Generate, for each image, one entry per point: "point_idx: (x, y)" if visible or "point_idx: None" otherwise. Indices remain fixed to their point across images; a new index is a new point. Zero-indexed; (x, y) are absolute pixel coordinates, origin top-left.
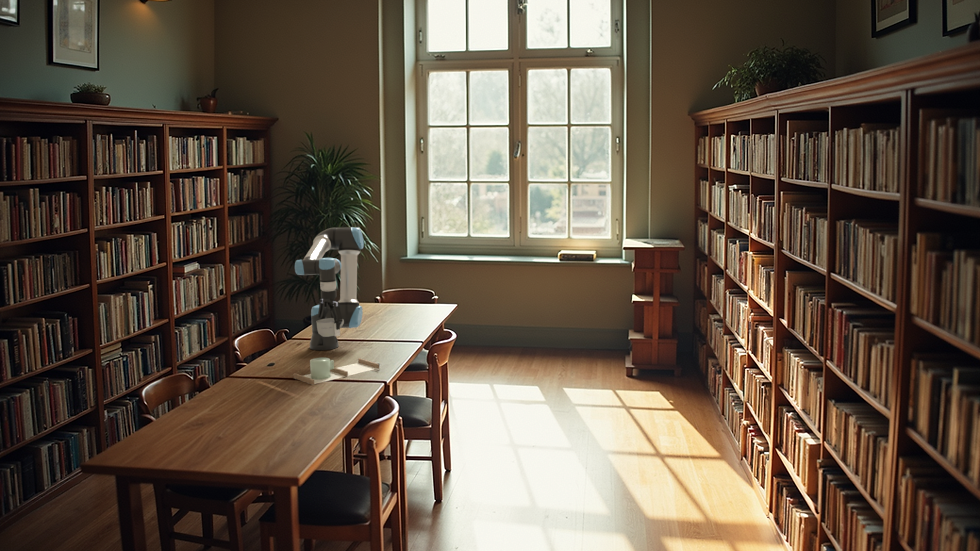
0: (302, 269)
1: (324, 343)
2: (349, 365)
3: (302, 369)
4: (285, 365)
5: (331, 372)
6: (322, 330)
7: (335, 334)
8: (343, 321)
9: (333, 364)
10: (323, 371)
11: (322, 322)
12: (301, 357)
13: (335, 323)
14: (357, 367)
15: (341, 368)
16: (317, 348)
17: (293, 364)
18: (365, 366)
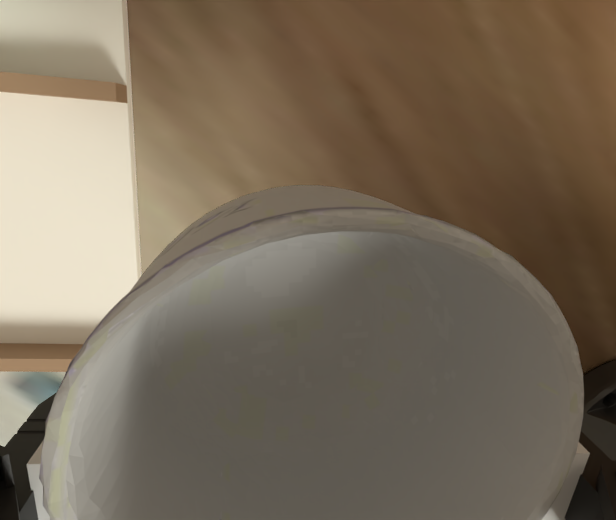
0: None
1: (599, 418)
2: (119, 269)
3: (345, 15)
4: (539, 10)
5: (30, 58)
6: (231, 201)
7: None
8: None
9: None
10: None
11: (193, 252)
12: (584, 218)
13: (32, 472)
14: (27, 272)
15: (86, 185)
16: (610, 371)
17: (508, 68)
18: (13, 320)
